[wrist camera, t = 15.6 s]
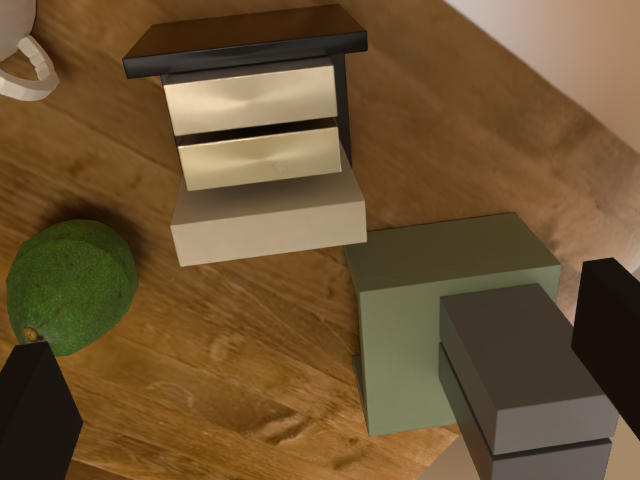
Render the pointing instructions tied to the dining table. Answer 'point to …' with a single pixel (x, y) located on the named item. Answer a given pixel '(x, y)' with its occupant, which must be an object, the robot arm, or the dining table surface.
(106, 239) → the avocado
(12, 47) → the mug
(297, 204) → the white book
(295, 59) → the book rack
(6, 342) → the dining table surface
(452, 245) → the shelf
